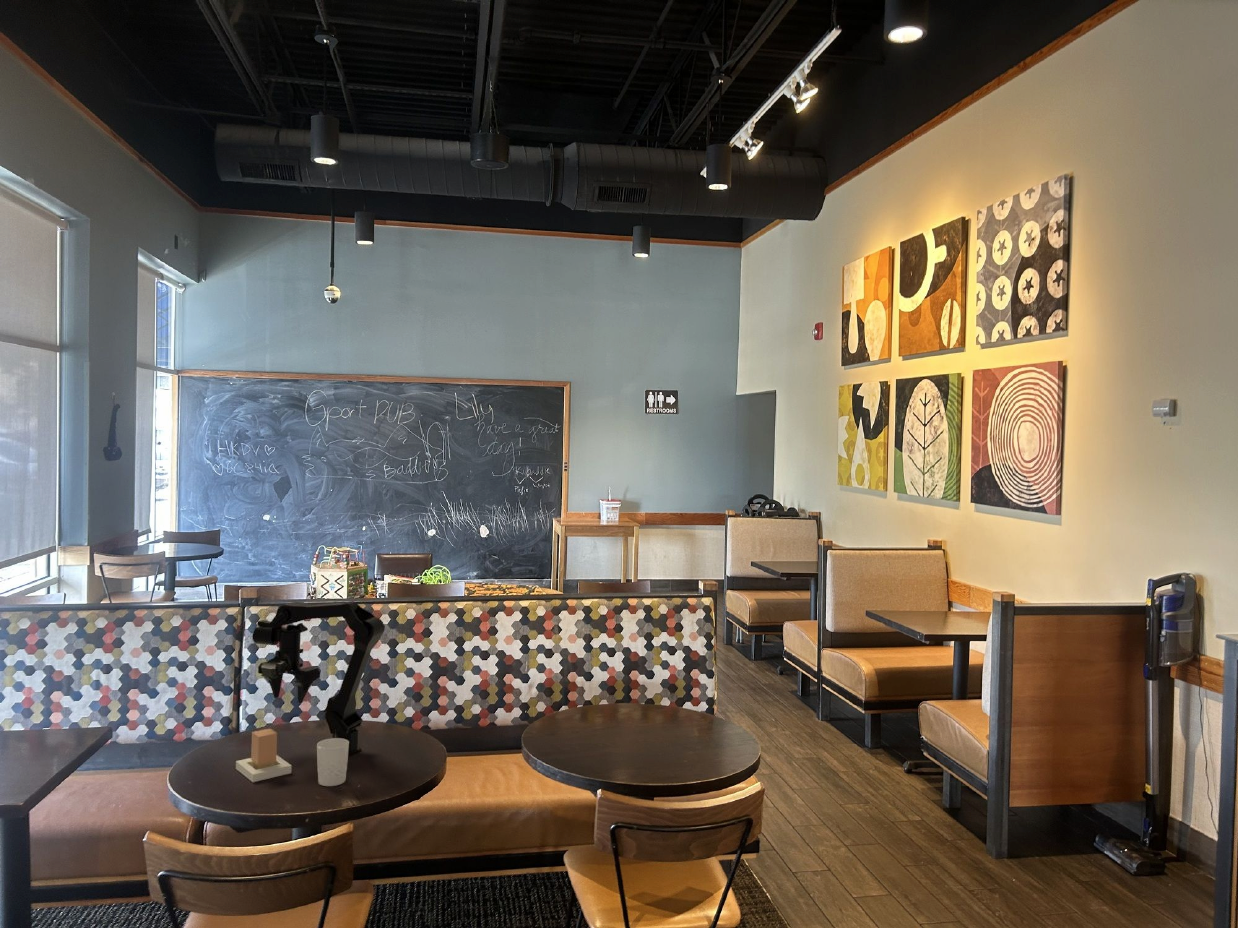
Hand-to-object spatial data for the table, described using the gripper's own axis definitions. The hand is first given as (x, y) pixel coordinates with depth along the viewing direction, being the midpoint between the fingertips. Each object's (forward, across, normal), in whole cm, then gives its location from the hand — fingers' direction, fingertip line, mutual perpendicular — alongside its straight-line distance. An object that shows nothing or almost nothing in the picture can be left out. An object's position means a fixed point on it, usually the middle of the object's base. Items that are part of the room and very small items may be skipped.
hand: (288, 700), depth 245 cm
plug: (+13, +9, -17) cm, 23 cm away
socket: (+13, +9, -17) cm, 24 cm away
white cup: (+13, +30, -14) cm, 36 cm away
